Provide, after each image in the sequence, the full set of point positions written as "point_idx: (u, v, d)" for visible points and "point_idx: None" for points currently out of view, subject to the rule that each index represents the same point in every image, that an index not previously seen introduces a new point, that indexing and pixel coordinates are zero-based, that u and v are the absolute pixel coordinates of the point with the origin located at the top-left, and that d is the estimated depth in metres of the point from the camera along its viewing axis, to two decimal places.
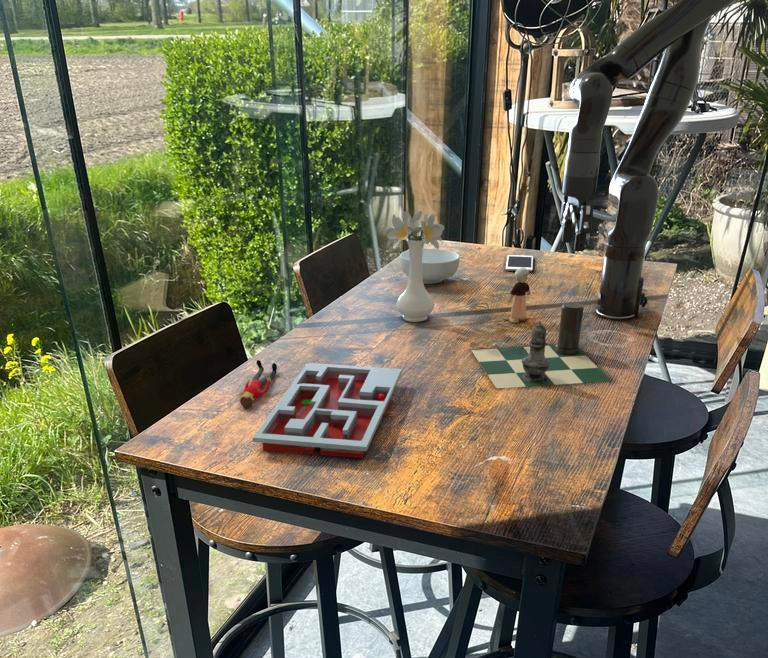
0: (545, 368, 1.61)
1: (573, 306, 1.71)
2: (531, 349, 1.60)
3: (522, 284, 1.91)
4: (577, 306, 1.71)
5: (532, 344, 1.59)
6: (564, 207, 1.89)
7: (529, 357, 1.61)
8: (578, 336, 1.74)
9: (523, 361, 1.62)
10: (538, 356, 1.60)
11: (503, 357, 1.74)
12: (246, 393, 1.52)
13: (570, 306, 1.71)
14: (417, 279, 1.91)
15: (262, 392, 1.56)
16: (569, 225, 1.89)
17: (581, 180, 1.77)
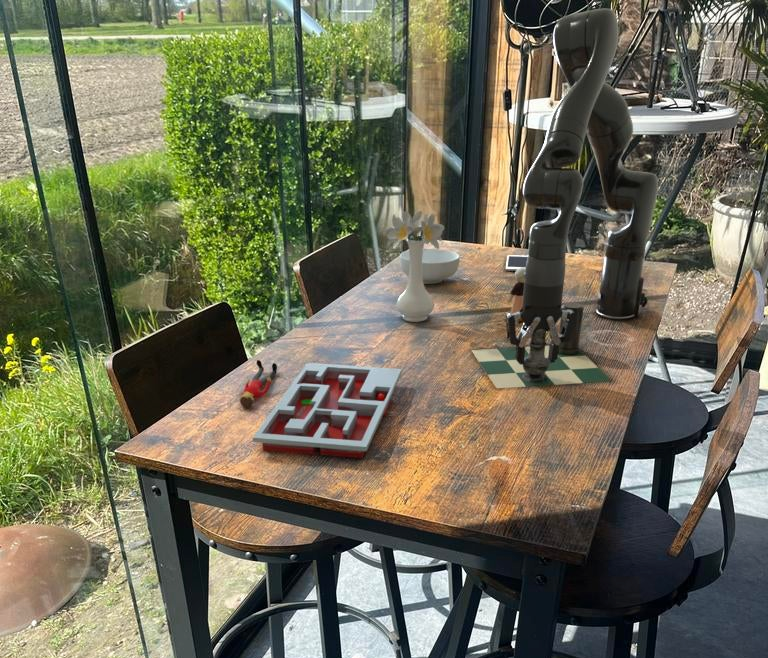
0: (545, 368, 1.61)
1: (573, 306, 1.71)
2: (531, 349, 1.60)
3: (522, 284, 1.91)
4: (577, 306, 1.71)
5: (532, 344, 1.59)
6: (563, 322, 1.60)
7: (529, 357, 1.61)
8: (578, 336, 1.74)
9: None
10: (538, 356, 1.60)
11: (503, 357, 1.74)
12: (246, 393, 1.52)
13: (570, 306, 1.71)
14: (417, 279, 1.91)
15: (262, 392, 1.56)
16: (552, 343, 1.60)
17: (524, 284, 1.55)
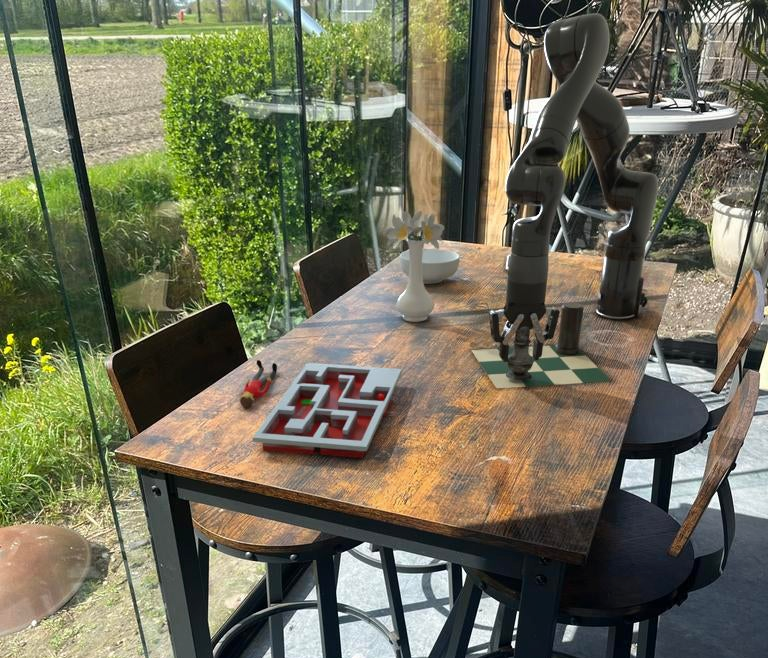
0: (529, 366, 1.60)
1: (573, 306, 1.71)
2: (515, 347, 1.59)
3: None
4: (577, 306, 1.71)
5: (516, 341, 1.59)
6: (547, 319, 1.59)
7: (513, 355, 1.60)
8: (578, 336, 1.74)
9: None
10: (522, 354, 1.59)
11: None
12: (246, 393, 1.52)
13: (570, 306, 1.71)
14: (417, 279, 1.91)
15: (262, 392, 1.56)
16: (536, 340, 1.60)
17: (507, 281, 1.54)
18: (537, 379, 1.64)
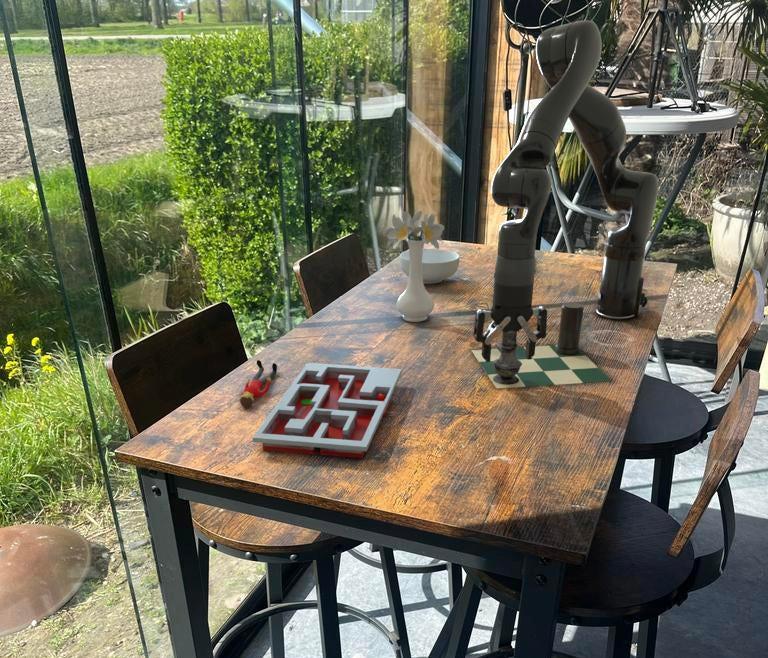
0: (516, 370, 1.60)
1: (573, 306, 1.71)
2: (502, 351, 1.60)
3: None
4: (577, 306, 1.71)
5: (503, 346, 1.59)
6: (537, 319, 1.59)
7: (500, 359, 1.61)
8: (578, 336, 1.74)
9: (494, 363, 1.61)
10: (509, 358, 1.59)
11: None
12: (246, 393, 1.52)
13: (570, 306, 1.71)
14: (417, 279, 1.91)
15: (262, 392, 1.56)
16: (529, 339, 1.59)
17: None
18: (537, 379, 1.64)
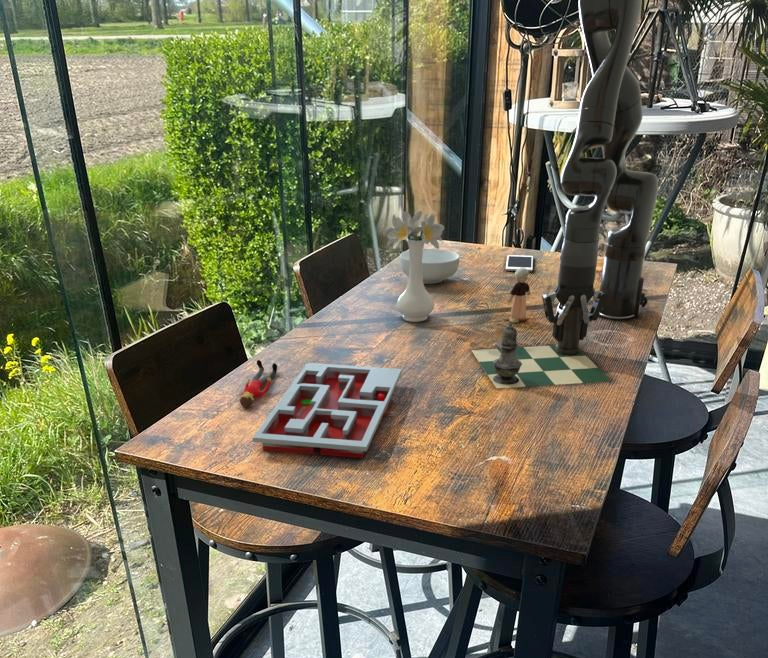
0: (516, 370, 1.60)
1: None
2: (502, 351, 1.60)
3: (522, 284, 1.91)
4: None
5: (503, 346, 1.59)
6: (593, 302, 1.73)
7: (500, 359, 1.61)
8: (578, 336, 1.74)
9: (494, 363, 1.61)
10: (509, 358, 1.59)
11: None
12: (246, 393, 1.52)
13: None
14: (417, 279, 1.91)
15: (262, 392, 1.56)
16: (582, 321, 1.74)
17: None
18: (537, 379, 1.64)
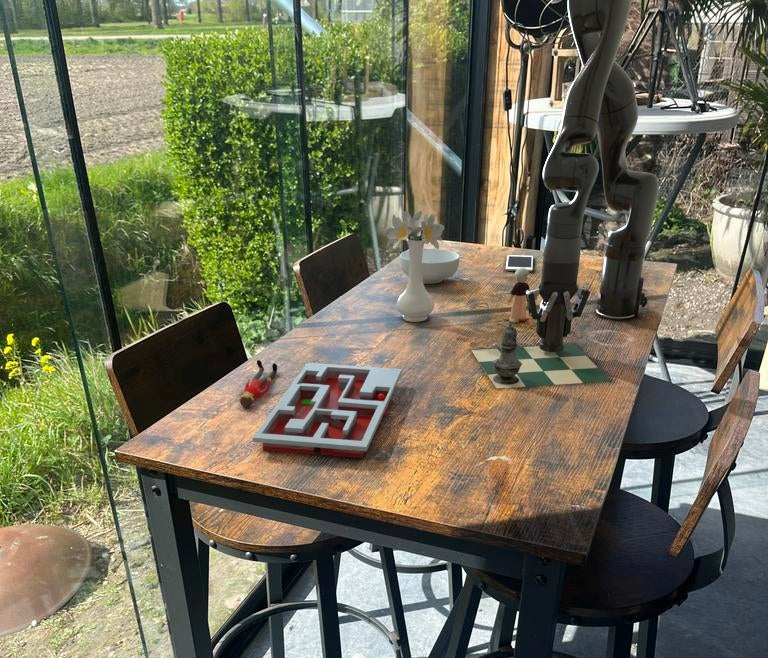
0: (516, 370, 1.60)
1: (556, 303, 1.70)
2: (502, 351, 1.60)
3: (522, 284, 1.91)
4: (560, 303, 1.70)
5: (503, 346, 1.59)
6: (577, 298, 1.72)
7: (500, 359, 1.61)
8: (562, 333, 1.73)
9: (494, 363, 1.61)
10: (509, 358, 1.59)
11: None
12: (246, 393, 1.52)
13: None
14: (417, 279, 1.91)
15: (262, 392, 1.56)
16: None
17: None
18: (537, 379, 1.64)
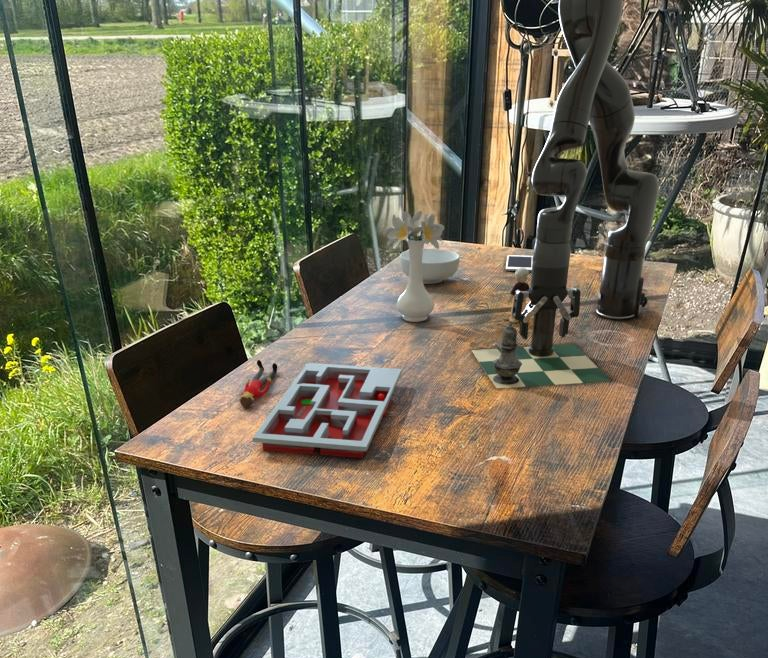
0: (516, 370, 1.60)
1: (545, 308, 1.70)
2: (502, 351, 1.60)
3: (522, 284, 1.91)
4: None
5: (503, 346, 1.59)
6: (571, 299, 1.72)
7: (500, 359, 1.61)
8: (551, 338, 1.73)
9: (494, 363, 1.61)
10: (509, 358, 1.59)
11: None
12: (246, 393, 1.52)
13: None
14: (417, 279, 1.91)
15: (262, 392, 1.56)
16: (563, 318, 1.73)
17: (532, 266, 1.67)
18: (537, 379, 1.64)
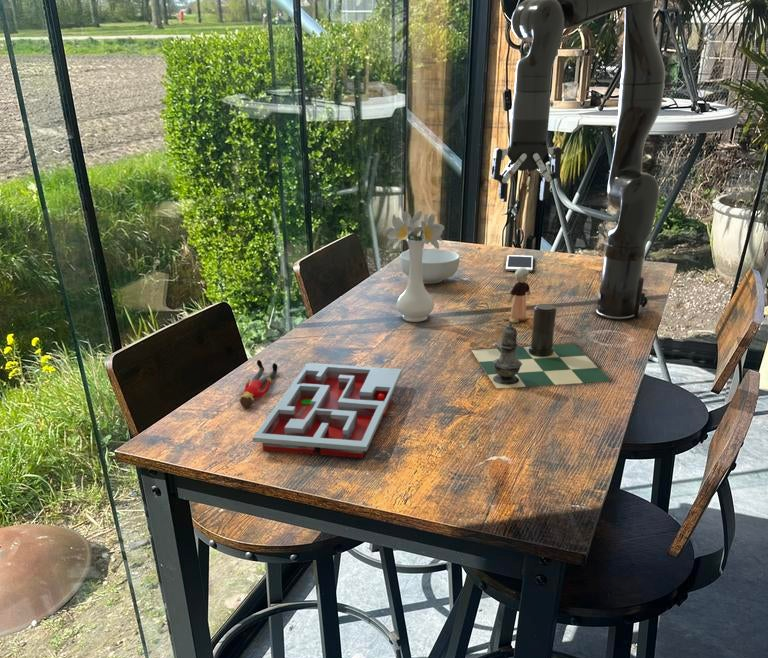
0: (516, 370, 1.60)
1: (545, 308, 1.70)
2: (502, 351, 1.60)
3: (522, 284, 1.91)
4: (549, 307, 1.71)
5: (503, 346, 1.59)
6: (551, 160, 1.67)
7: (500, 359, 1.61)
8: (551, 338, 1.73)
9: (494, 363, 1.61)
10: (509, 358, 1.59)
11: None
12: (246, 393, 1.52)
13: (542, 308, 1.71)
14: (417, 279, 1.91)
15: (262, 392, 1.56)
16: (544, 180, 1.68)
17: (511, 121, 1.62)
18: (537, 379, 1.64)
